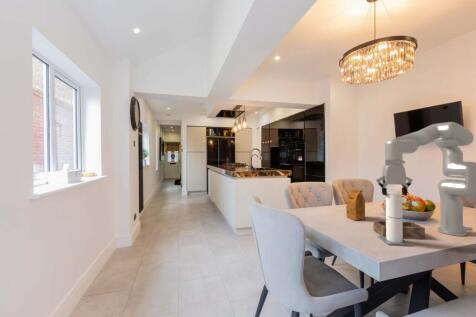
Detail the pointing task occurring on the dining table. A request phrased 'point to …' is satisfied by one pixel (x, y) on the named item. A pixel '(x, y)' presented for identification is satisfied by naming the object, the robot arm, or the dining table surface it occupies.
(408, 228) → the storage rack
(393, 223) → the cylindrical container
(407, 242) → the slate coaster
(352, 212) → the coffee package
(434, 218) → the dining table surface
